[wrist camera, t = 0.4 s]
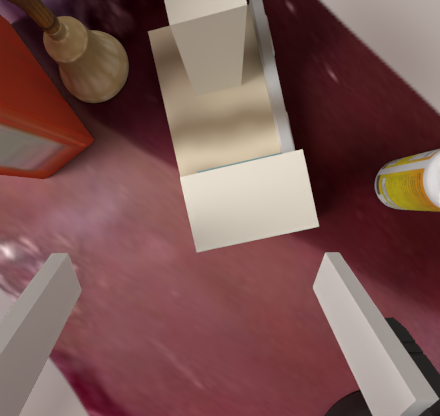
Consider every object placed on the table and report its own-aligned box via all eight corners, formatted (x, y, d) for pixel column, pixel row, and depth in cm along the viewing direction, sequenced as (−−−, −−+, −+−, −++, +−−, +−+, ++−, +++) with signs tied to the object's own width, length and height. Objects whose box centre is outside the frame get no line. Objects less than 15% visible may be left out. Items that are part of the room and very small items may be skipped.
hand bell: (66, 27, 29) (-132, -179, 13) (134, 37, 29) (14, -162, 13) (56, 97, 30) (-150, -22, 14) (123, 108, 29) (-8, 0, 13)
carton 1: (243, 85, 26) (251, 3, 15) (195, 96, 27) (169, 25, 16) (227, 10, 26) (224, -126, 15) (179, 23, 27) (141, -102, 16)
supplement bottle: (403, 218, 28) (501, 229, 18) (362, 191, 28) (435, 186, 18) (433, 177, 28) (550, 165, 17) (391, 149, 28) (483, 121, 18)
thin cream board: (303, 222, 29) (313, 225, 25) (198, 244, 29) (194, 250, 26) (259, 15, 28) (263, -11, 25) (153, 43, 29) (142, 21, 25)
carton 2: (273, 167, 27) (301, 144, 16) (283, 215, 27) (319, 226, 16) (200, 183, 27) (178, 172, 16) (211, 230, 27) (196, 252, 16)
